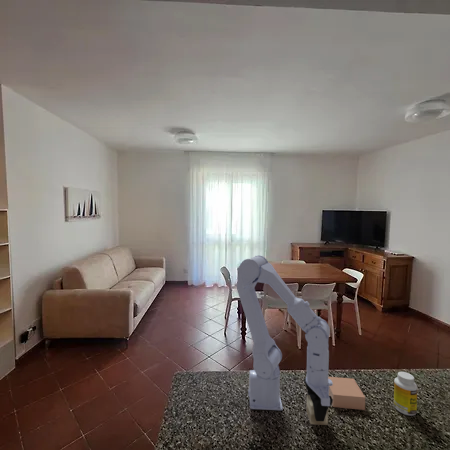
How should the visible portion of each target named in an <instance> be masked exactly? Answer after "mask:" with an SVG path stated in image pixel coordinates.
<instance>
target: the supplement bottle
mask: <svg viewBox="0 0 450 450" xmlns="http://www.w3.org/2000/svg"><path fill="white" fill-rule="evenodd" d="M393 380H394V381H393V386H394V387H393V407H394V408H395V409H396V411H398V412H400V413H401V414H403V415H405V416H411V417H413V416H416V414H417V413H418V385H417V384H416V382H415V377H414V375H412V374H410V373H409V372H406V371H398V372H397V377H395V378H394V379H393Z"/></svg>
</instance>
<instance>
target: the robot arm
mask: <svg viewBox="0 0 450 450" xmlns="http://www.w3.org/2000/svg"><path fill="white" fill-rule="evenodd" d="M236 280H237V281H236V291H237V293H238V297H239V300H240V303H241V306H242V310H243V312H244V316H245V319H246V322H247V325H248V329H249V332H250V335H251V339H252V341H253V347H252V351H251V352H252V357H253V364H252V366H253V369H250V370H249V373H248V374H249V376H248V380H249V381H248V389H247V393H248V394H247V396H248V397H249V409H250V410H263V411H264V410H265V411H266V410H268V411H283V410H284V408H283V404H282V399H281V394H280V392H281V391H280V390H281V389H280V388H281V381H280V380H281V370H280V366H279V364H280V362H281V361H282V359H283V353H282V351H281V349H280V348H279V347H278V345H277V344H276V341H275V339H273V338H272V337H271V336H270V333H269V332H270V331H269V329H268V326H267V323H266V320H265V317H264V314H263V311H262V308H261V304H260V301H259V298H258V295H257V292H256V289H255V287H256V286H257V284H258V283H259V284H260V283H261V284H265V285H269V286H270V288H272V290H273V292H275V293H276V294H277V295H278V297H279V298H280V299H281V300H282V301H283V302H284V303H285V304H286V305H287V307H286V308H287V309H286V310H287V313H288V314H289V315H290V316H291V318H292V319H293V320H294V321H295V323H296V324H297V326H299V327H300V329H301V330H302V331H303V332H304V333H305V334H304V336H305V337H304V338H305V340H306V342H307V346H306V377H305V378H303V379H302V380H303V382H304V385H305V388H306V391H307V395H310V398H311V400H312V402H313V407H314V415H315V419H316V421H324V419H325V416H326V413H327V410H328V411H329V408H330V406H332V402H333V399H332V397H331V396H329V386H332V385H333V382H332V381H331V380H330V379H328V377H329V366H330V365H329V362H330V360H329V359H330V350H329V346H330V345H329V337H330V334H331V330H330V329H331V328H330V326H329V324H328V322H327V321H326V320H325V319H323V318H322V317H321V316H318V315H317V313H315V311H314V310H313V309H312V308H311V307H310V305H311V304H310V302H309V301H308V300H306V301H305V300H304V299H303V298H301V297H297V296H296V295H295V294H294V293H293V291H292V290H291V289H290V287H289V286H288V285H287V284H286V283H285V281H284V280H283V278H282V277H281V276H280V274H279V273H278V271H276V269H275V268H274V266H273V264H272V263H270V262H269V261H268V259H267V258H266V257H264V256H263V255H255V256H253V257H250V258H245V259H244V260H243V261H242V262H241V263H240V264H239V266H238V268H237V279H236Z"/></svg>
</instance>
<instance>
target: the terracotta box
mask: <svg viewBox="0 0 450 450" xmlns="http://www.w3.org/2000/svg"><path fill="white" fill-rule="evenodd" d="M328 379H330V380H331V381H332V382H333V385H332V386H329V396H331V397H332V399H333V402H332V404H331V406H332V407H333V408H341V409H351V410H352V409H353V410H363V411H366V396H365V395H364V393H363V391H362V390H361V388H360V387H359V385H358V383H357V381H356V380H355V378H349V377H339V376H338V377H337V376H328Z"/></svg>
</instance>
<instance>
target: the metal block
mask: <svg viewBox="0 0 450 450" xmlns="http://www.w3.org/2000/svg"><path fill="white" fill-rule="evenodd" d="M305 412H306V414H307V415H306V416H307V417H308V420H309V423H310V425H316V426H317V425H319V426H320V425H321V426H328V424H329V422H328V421H329V418H328V417H329V409H328V410H327V413H326V416H325V419H324V421H316V419H315V415H314V407H313V402H312V400H311V398H310V395H308V394H306V411H305Z"/></svg>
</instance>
